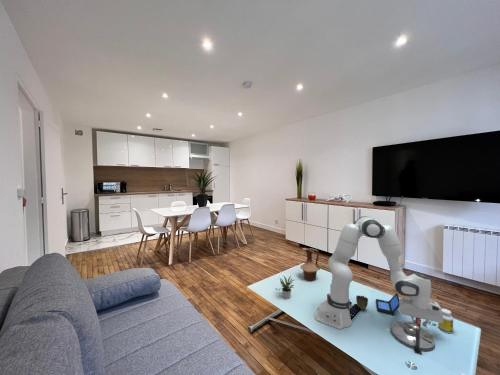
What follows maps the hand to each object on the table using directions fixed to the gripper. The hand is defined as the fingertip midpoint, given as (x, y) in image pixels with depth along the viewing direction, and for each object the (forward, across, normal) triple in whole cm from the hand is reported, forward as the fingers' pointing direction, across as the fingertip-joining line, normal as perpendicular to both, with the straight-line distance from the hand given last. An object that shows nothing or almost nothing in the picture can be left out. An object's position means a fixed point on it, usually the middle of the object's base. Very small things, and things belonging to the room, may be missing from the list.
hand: (419, 324), depth 123 cm
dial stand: (+5, -5, -15) cm, 16 cm away
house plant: (+7, -80, +7) cm, 81 cm away
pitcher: (+7, -69, +44) cm, 82 cm away
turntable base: (+5, -5, -6) cm, 9 cm away
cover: (+2, -5, -6) cm, 8 cm away
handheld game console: (+6, -13, +20) cm, 24 cm away
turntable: (+4, -5, -6) cm, 9 cm away
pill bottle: (+5, +15, +9) cm, 18 cm away
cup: (+6, -29, +12) cm, 32 cm away
